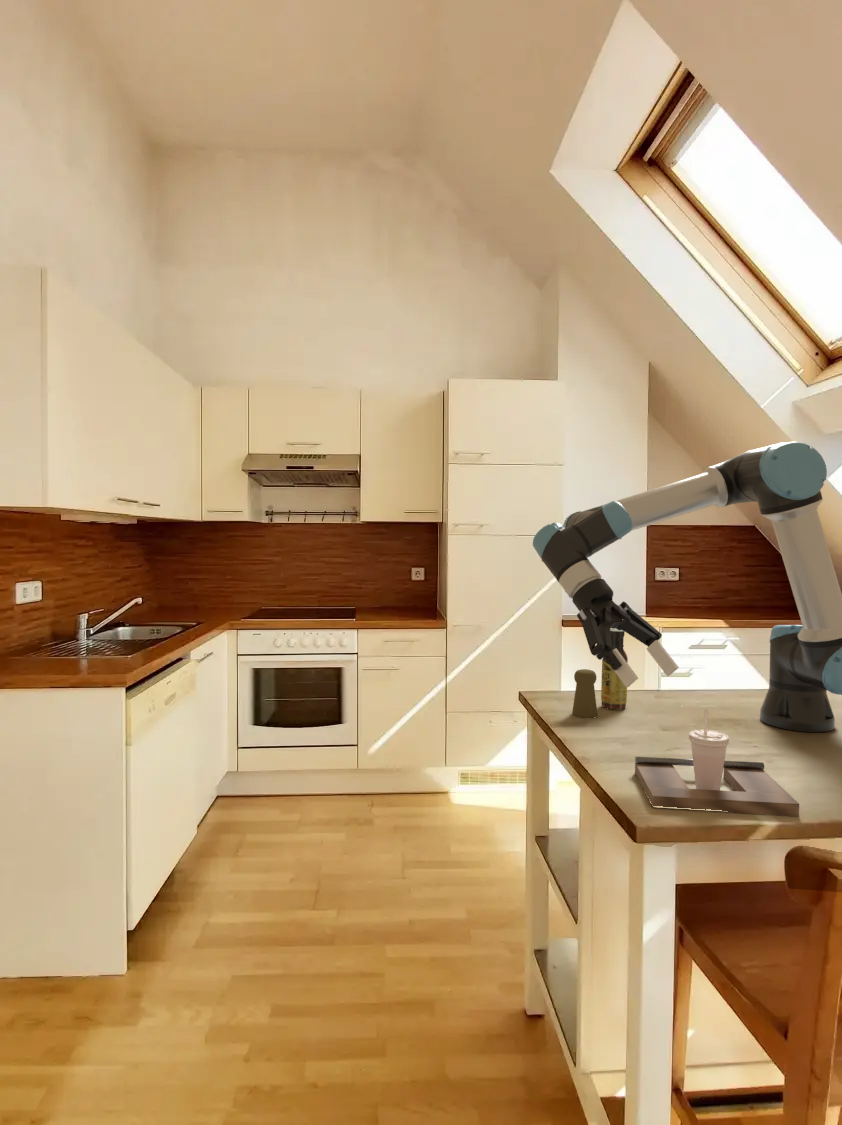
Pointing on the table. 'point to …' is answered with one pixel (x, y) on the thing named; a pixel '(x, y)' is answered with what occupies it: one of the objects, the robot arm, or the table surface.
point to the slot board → (718, 791)
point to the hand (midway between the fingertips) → (653, 677)
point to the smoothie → (708, 756)
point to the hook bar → (690, 763)
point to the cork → (585, 694)
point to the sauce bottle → (613, 677)
